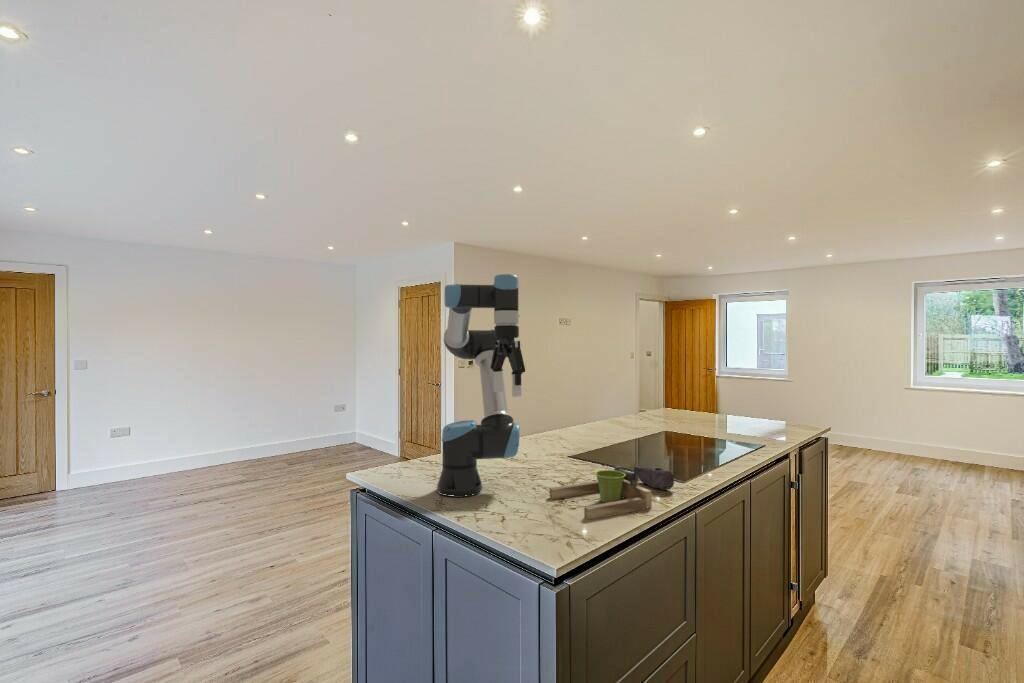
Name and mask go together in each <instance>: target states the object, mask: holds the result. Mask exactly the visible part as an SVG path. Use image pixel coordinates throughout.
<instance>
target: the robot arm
mask: <svg viewBox="0 0 1024 683" xmlns="http://www.w3.org/2000/svg"><path fill="white" fill-rule="evenodd" d="M519 287H520V286H519V277H518V276H517V275H516V274H510V273H503V274H496V275H495V276H494V278H493V284H462V283H461V284H460V283H455V284H447V285H445V287H444V294H443V295H444V307H446V308H448V320H447V326H446V327H447V328H446V329H445V331H444V333H443V343H444V346H445V348H446V349H447V350H448V351H449V353H450V354H452V355H453V356H454V357H457V358H459V359H462V360H474V362H475V364H476V366H478V367H479V371H480V384H481V393H482V403H483V404H482V405H483V414H484V415H483V416H484V417H483V418H482V419H481V421H480V424H478V423H477V421H476V420H471V419H470V420H466V419H465V420H459V421H456V422H451V423H449V424H446V425H445V426H443V429H442V436H441V442H442V452H441V453H442V457H441V458H442V468H441V472H440V476H439V478H438V482H437V490H438V491H439V492H440V493H442V494H446V495H454V496H465V495H472V494H476V493H478V494H480V493H481V492H482V491H483V482H482V480H481V476H480V474H479V469H478V467H477V466H478V464H477V463H478V461H477V460H485V459H487V460H489V459H506V458H507V459H508V458H514V457H516V455H517V454H518V451H519V446H520V435H521V431H520V429H521V428H520V424H519V423H517V422H514V418H513V417H512V415H510V414H509V411H508V402H507V396H506V389H505V388H506V386H505V380H504V372H503V371H504V369H503V367H504V363H505V360H506V359H508V362H509V364H510V367H511V369H512V372H511V397H513V398H515V397H516V398H517V397H522V374H523V373H525V372H526V366H525V363H524V358H523V353H522V349H521V341H520V340H515V339H517V338H519V334H520V333H519V332H520V331H519V329H520V327H519V323H520V322H519V321H520V320H519V318H520V314H519ZM487 308H488V309H493V324H494V325H495V326H494V329H489V330H488V329H484V330H483V329H482V330H480V329H478V330H476V329H471V330H470V329H469V325H470V322H471V316H472V309H487ZM481 490H482V491H481ZM438 491H437V492H438ZM480 491H481V492H480ZM479 492H480V493H479ZM476 495H477V494H476ZM472 496H473V495H472Z"/></svg>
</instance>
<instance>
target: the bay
mask: <svg viewBox="0 0 1024 683" xmlns="http://www.w3.org/2000/svg"><path fill="white" fill-rule="evenodd" d="M633 468H634V469H633V471H632V472H631V471H629V470H625V469H623V468H622V466H621V465H617V466H614V471H620V472H623V473H625V474H626V476H625V477H624V481H623V485H622V492H621V498H623V497H624V498H623V499H622V500H621V499H620V501H615V502H610V503H605V502H603V503H600V504H594V505H590V506H584V518H585V519H586V518H587V519H586V520H588V519H590V520H595V519H599V518H605V517H610V516H609V515H611V516H615V514H616V515H620V513H621V514H624V512H626V513H630V512H629V511H631V512H634V511H633V510H636V511H639V510H638V509H641V510H644V509H643V508H646V509H648V508H647V507H651V508H653V507H652V506H653V504H652V499H653V498H652V497H653V496H652V492H653V491H652V490H650V489H648V488H645V487H642V486H641V485H639V484H638V481H639V477H638V472H639V471H640V472H643V468H642V467H641V466H637V465H636V466H635V465H634V467H633ZM597 491H599V484H598V480H592V481H587V482H581V483H575V484H569V485H562V486H556V487H555V486H554V487H550V488H549V498H551V499H552V500H557V499H562V498H569V497H574V496H575V497H576V496H580V495H581V496H582V495H587V494H592V492H593V493H598V492H597ZM599 492H600V491H599ZM625 498H626V499H625ZM604 516H605V517H604ZM594 518H595V519H594Z"/></svg>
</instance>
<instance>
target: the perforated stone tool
mask: <svg viewBox="0 0 1024 683" xmlns="http://www.w3.org/2000/svg"><path fill="white" fill-rule="evenodd" d="M641 468H643V472H640V471H638V480H639V481H640V482H641V483H642V484H644V485H647V486H648V485H649V486H648V487H650V486H651V487H650V488H653V487H654V488H653V489H659V490H661V491H666V490H667V489H668V490H671V489H672V488H673V487H674V484H675V479H674V473H672V471H669V470H667V469H664V468H660V467H655V466H643V467H641ZM665 489H666V490H665Z"/></svg>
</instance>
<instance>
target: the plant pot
mask: <svg viewBox="0 0 1024 683" xmlns="http://www.w3.org/2000/svg"><path fill="white" fill-rule="evenodd" d="M595 476H596V479H597V481H598V484H599V499H600V500H601V502H602V503H610V502H615V501H621V499H622V497H621V492H622V485H623V481H624V480H625V479H624V477H625V476H626V474H625V473H623V472H620V471H615V469H614V470H613V469H602V470H597V471H595Z"/></svg>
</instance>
